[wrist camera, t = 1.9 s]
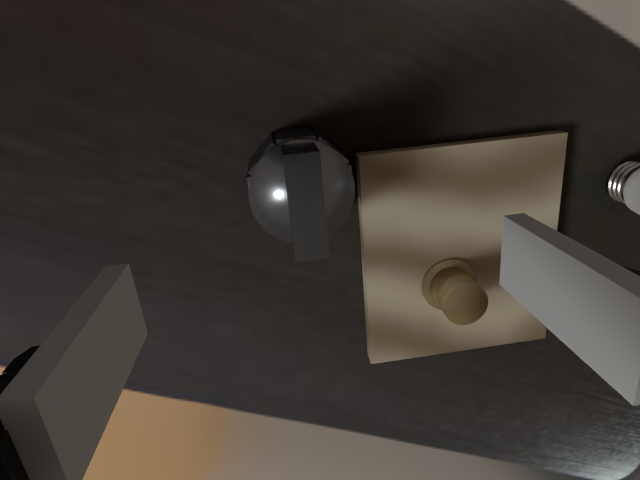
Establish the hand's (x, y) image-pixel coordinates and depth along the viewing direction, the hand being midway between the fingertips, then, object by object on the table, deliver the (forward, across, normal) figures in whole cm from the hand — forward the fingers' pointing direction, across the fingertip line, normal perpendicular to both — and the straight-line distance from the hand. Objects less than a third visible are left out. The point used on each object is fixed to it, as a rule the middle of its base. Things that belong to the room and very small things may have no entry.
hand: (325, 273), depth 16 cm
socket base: (+15, +11, -7) cm, 20 cm away
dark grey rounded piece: (+15, 0, 0) cm, 15 cm away
